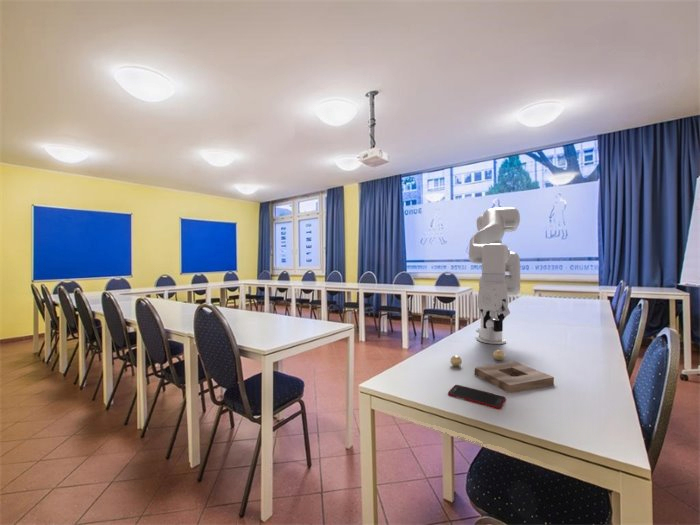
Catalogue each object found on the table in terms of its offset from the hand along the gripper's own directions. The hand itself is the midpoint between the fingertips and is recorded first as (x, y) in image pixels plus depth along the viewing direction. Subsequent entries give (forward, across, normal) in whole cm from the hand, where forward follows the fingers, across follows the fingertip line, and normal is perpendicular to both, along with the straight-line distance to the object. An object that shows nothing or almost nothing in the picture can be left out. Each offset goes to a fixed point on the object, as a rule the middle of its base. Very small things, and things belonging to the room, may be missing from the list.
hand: (492, 329), depth 110 cm
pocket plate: (+15, +8, +1) cm, 17 cm away
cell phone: (+16, +15, -19) cm, 29 cm away
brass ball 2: (+13, -8, +10) cm, 18 cm away
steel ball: (-2, 0, 0) cm, 2 cm away
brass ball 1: (+13, -7, -10) cm, 18 cm away
